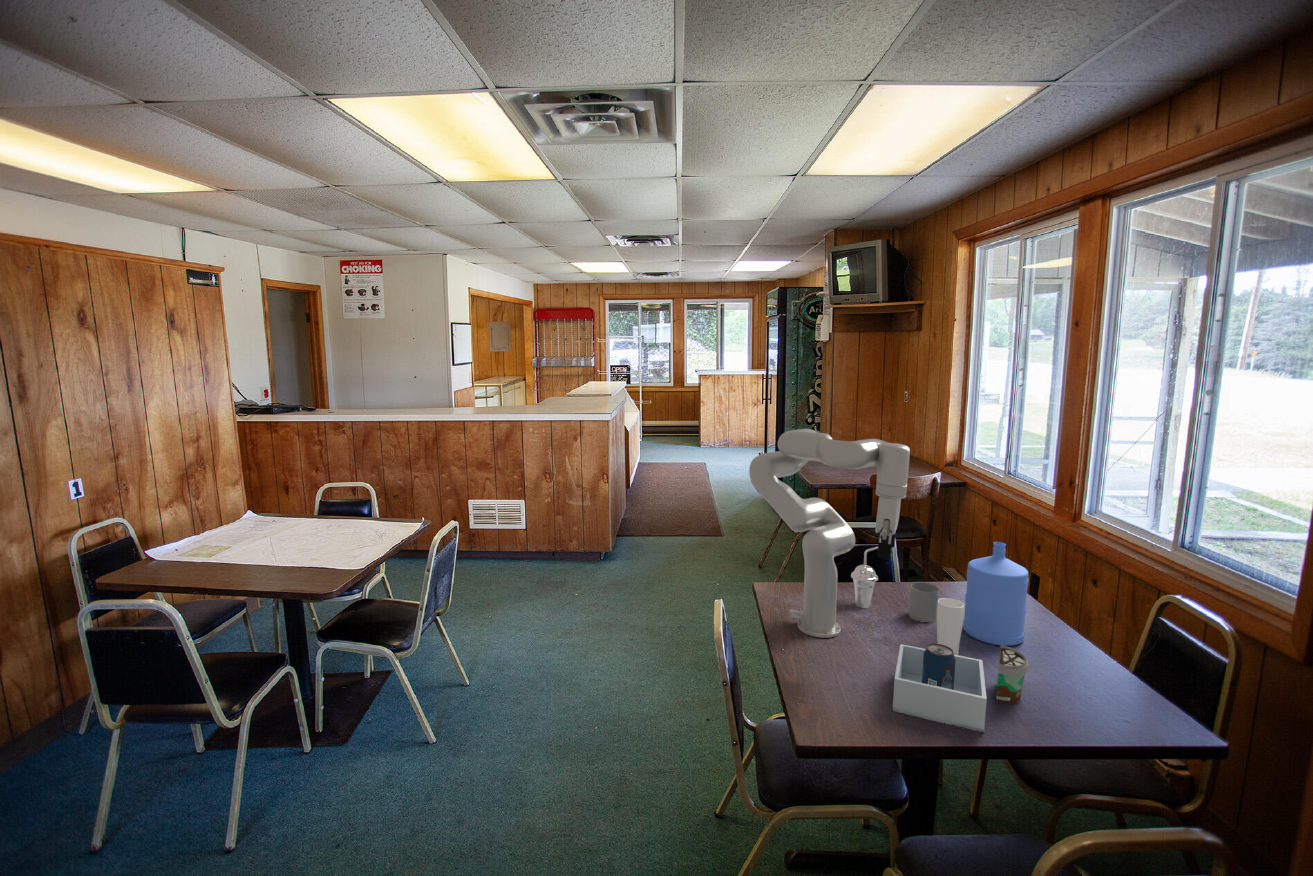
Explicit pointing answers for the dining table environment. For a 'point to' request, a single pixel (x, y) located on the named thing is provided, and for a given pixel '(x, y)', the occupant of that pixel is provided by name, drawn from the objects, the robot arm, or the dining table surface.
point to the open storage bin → (940, 691)
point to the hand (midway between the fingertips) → (885, 551)
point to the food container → (1010, 675)
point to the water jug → (996, 599)
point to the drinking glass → (949, 622)
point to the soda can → (938, 666)
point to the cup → (923, 601)
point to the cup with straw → (864, 583)
